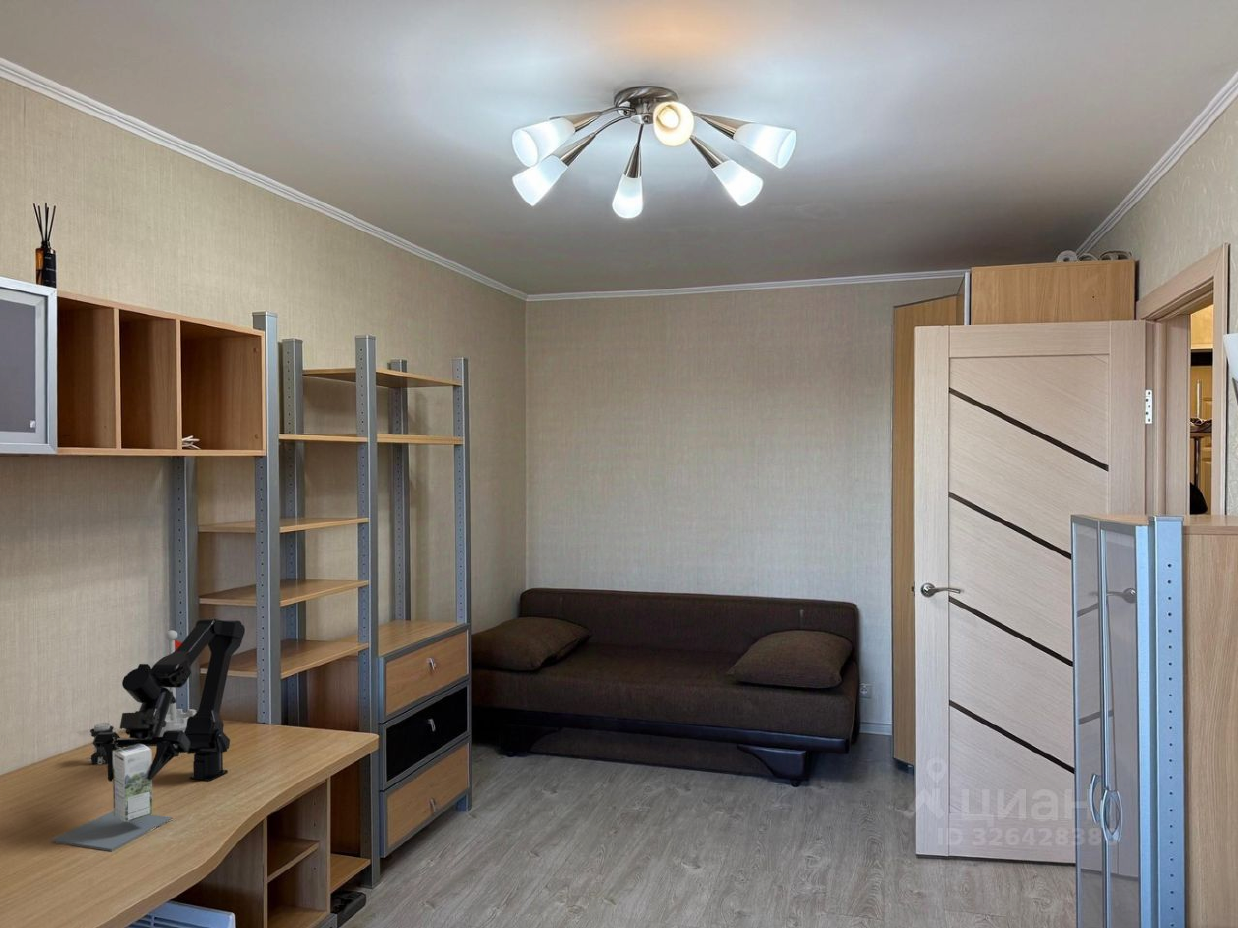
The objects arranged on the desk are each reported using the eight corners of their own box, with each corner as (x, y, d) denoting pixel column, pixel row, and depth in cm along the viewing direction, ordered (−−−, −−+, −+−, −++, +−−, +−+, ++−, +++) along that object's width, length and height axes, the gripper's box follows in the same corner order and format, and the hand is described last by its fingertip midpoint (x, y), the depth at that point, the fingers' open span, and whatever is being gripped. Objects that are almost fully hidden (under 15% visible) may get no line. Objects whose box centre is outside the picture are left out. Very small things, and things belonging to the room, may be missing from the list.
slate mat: (116, 811, 200) (115, 809, 200) (172, 819, 195) (172, 817, 195) (51, 841, 185) (51, 839, 185) (111, 851, 180) (111, 848, 180)
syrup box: (141, 807, 194) (139, 742, 194) (153, 814, 191) (151, 747, 190) (113, 816, 190) (111, 749, 190) (125, 823, 186) (123, 755, 186)
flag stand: (153, 744, 247) (151, 637, 247) (143, 733, 257) (141, 630, 257) (203, 734, 255) (201, 630, 255) (192, 723, 265) (190, 624, 265)
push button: (81, 767, 229) (80, 728, 229) (90, 760, 234) (89, 722, 234) (109, 765, 230) (108, 727, 230) (117, 758, 235) (116, 721, 235)
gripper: (95, 696, 193) (68, 764, 182) (183, 693, 194) (160, 761, 183) (115, 720, 201) (90, 787, 190) (199, 718, 202) (178, 784, 191)
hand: (129, 780), depth 189 cm, fingers closed on syrup box, 8 cm apart
